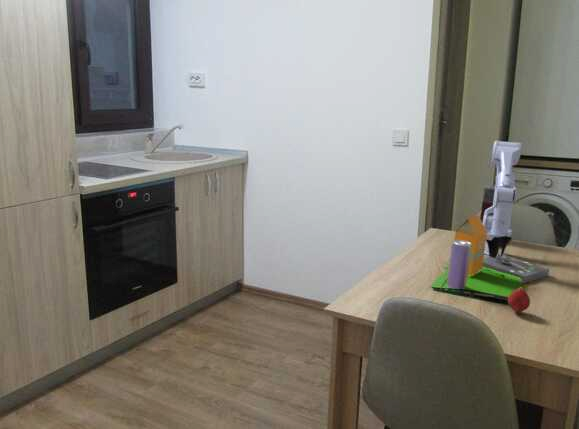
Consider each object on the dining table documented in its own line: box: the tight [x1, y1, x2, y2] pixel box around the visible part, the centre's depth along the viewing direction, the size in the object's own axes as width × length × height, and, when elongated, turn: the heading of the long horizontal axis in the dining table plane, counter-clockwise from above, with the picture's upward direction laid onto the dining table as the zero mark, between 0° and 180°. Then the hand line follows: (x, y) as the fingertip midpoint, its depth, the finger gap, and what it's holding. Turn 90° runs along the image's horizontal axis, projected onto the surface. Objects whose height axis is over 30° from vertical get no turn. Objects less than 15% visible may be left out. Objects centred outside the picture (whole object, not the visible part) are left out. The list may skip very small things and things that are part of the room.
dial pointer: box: [495, 247, 526, 270], centre depth 188 cm, size 14×4×4 cm, turn 23°
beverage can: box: [446, 239, 472, 291], centre depth 169 cm, size 6×6×15 cm
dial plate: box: [482, 254, 550, 284], centre depth 189 cm, size 19×16×3 cm
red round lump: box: [507, 286, 531, 314], centre depth 152 cm, size 6×6×8 cm
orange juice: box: [454, 214, 487, 275], centre depth 184 cm, size 8×9×20 cm
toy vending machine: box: [479, 176, 496, 223], centre depth 226 cm, size 9×11×28 cm
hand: (495, 256), depth 192 cm, fingers open, 4 cm apart
